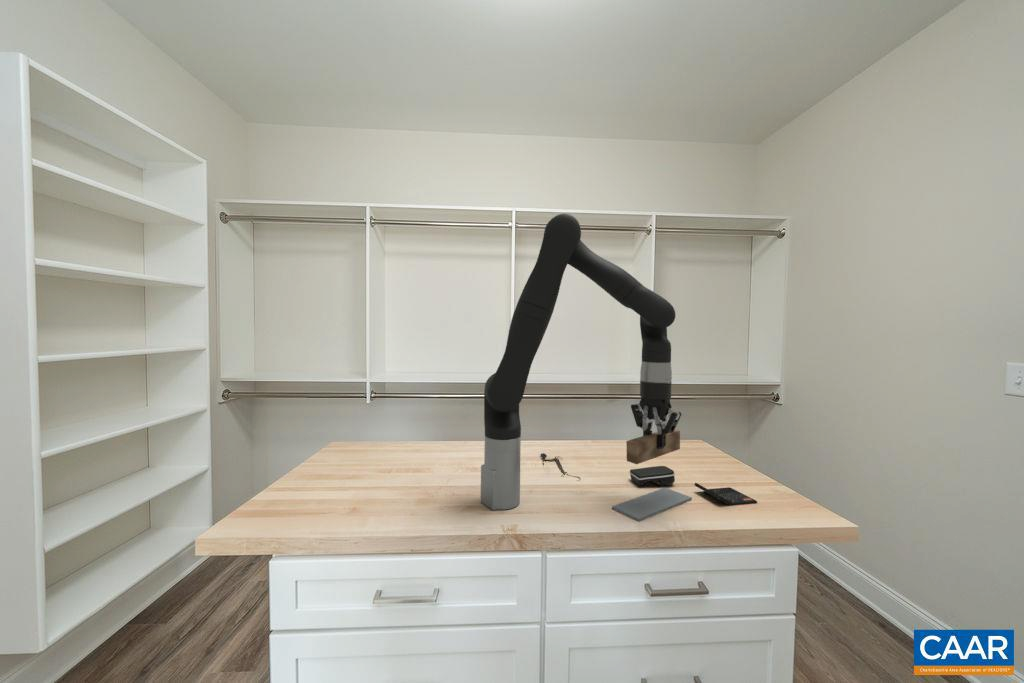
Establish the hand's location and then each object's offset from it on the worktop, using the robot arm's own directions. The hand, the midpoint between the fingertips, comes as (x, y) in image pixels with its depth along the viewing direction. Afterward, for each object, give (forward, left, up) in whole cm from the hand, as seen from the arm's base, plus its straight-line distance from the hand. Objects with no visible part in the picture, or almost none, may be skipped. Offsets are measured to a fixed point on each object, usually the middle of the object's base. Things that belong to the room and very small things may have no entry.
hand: (654, 446), depth 101 cm
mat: (0, 0, -15) cm, 15 cm away
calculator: (+20, -8, -15) cm, 26 cm away
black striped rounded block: (+7, +12, -14) cm, 19 cm away
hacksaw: (-2, +34, -16) cm, 37 cm away
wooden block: (0, 0, -2) cm, 2 cm away
